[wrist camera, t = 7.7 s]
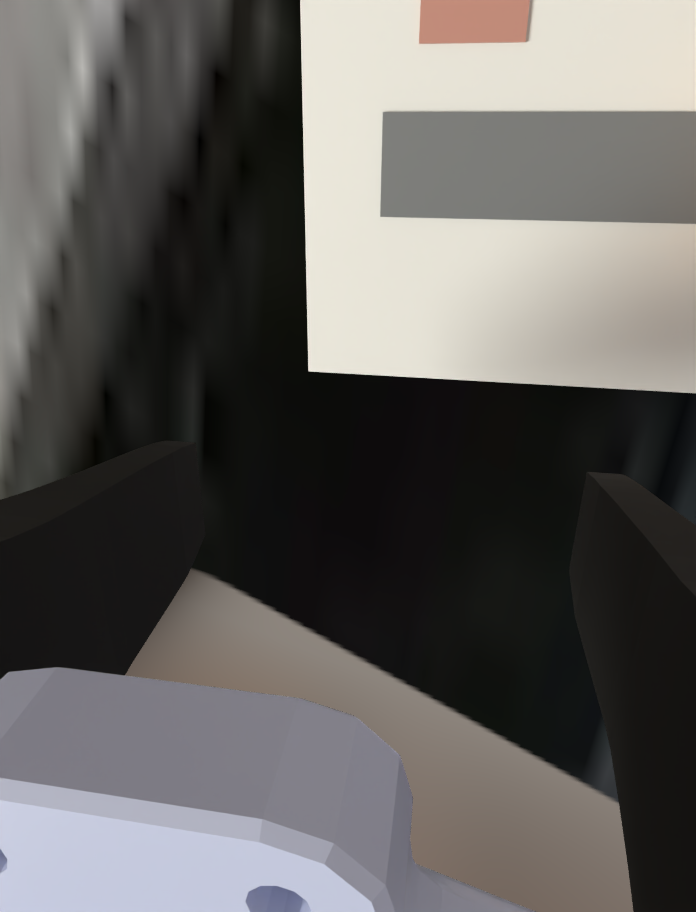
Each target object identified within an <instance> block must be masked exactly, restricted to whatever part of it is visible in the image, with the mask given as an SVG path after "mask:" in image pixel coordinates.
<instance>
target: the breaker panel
mask: <svg viewBox="0 0 696 912" xmlns="http://www.w3.org/2000/svg"><path fill="white" fill-rule="evenodd" d="M300 9H301V54H302V99H303V143H304V188H305V233H306V278H307V323H308V368H309V371H313V372H331V373H348V374H366V375H384V376H401V377H419V378H437V379H454V380H472V381H489V382H507V383H525V384H542V385H560V386H578V387H595V388H613V389H631V390H648V391H666V392H683V393H696V0H300Z"/></svg>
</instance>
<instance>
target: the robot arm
mask: <svg viewBox="0 0 696 912" xmlns="http://www.w3.org/2000/svg"><path fill="white" fill-rule="evenodd" d="M204 536H205V527H204V518H203V508H202V499H201V489H200V479H199V470H198V460H197V451H196V443H191V442H177V441H162V442H157V443H154V444H150V445H147V446H145V447H142V448H139V449H136V450H134V451H131V452H128V453H126V454H123V455H121V456H118V457H116V458H113V459H111V460H108V461H106V462H104V463H101V464H99V465H96V466H94V467H91V468H89V469H86V470H84V471H81V472H79V473H76V474H73V475H71V476H68V477H65V478H63V479H60V480H57V481H54V482H52V483H49V484H46V485H43V486H41V487H38V488H35V489H33V490H30V491H27V492H24V493H21V494H18V495H15V496H11V497H8V498H5V499H2V500H0V912H535V911H533V910H530V909H528V908H525V907H523V906H520V905H518V904H515V903H513V902H510V901H508V900H505V899H503V898H500V897H498V896H495V895H493V894H490V893H488V892H485V891H483V890H480V889H478V888H475V887H473V886H470V885H468V884H465V883H463V882H460V881H458V880H455V879H453V878H450V877H448V876H445V875H443V874H440V873H438V872H435V871H433V870H430V869H428V868H425V867H423V866H420V865H418V864H415V862H414V860H413V858H412V851H411V844H410V832H411V818H412V804H413V796H412V793H411V789H410V786H409V783H408V780H407V776H406V773H405V770H404V767H403V763H402V760H401V757H400V755H399V754H398V753H397V752H396V751H395V750H394V749H392V748H391V747H390V746H389V745H388V744H387V743H386V742H384V741H383V740H382V739H381V738H380V737H379V736H378V735H376V734H375V733H374V732H373V731H372V730H370V728H369V727H367V726H366V725H365V724H364V723H363V722H362V721H361V720H359V719H358V718H357V717H355V716H353V715H350V714H347V713H344V712H341V711H338V710H335V709H332V708H329V707H326V706H323V705H320V704H317V703H314V702H311V701H308V700H305V699H302V698H295V697H287V696H279V695H271V694H264V693H255V692H248V691H241V690H233V689H225V688H217V687H210V686H201V685H194V684H187V683H178V682H170V681H163V680H155V679H147V678H140V677H132V676H125V674H126V672H127V671H128V669H129V667H130V666H131V664H132V662H133V660H134V659H135V657H136V656H137V654H138V653H139V651H140V650H141V648H142V647H143V645H144V643H145V642H146V640H147V639H148V637H149V635H150V634H151V633H152V631H153V629H154V628H155V626H156V625H157V623H158V622H159V620H160V619H161V617H162V615H163V614H164V612H165V611H166V609H167V608H168V606H169V604H170V603H171V601H172V600H173V598H174V596H175V595H176V593H177V592H178V590H179V588H180V587H181V585H182V584H183V582H184V580H185V579H186V577H187V575H188V573H189V571H190V569H191V567H192V564H193V562H194V560H195V558H196V556H197V553H198V551H199V548H200V546H201V543H202V541H203V539H204ZM569 570H570V579H571V588H572V597H573V604H574V612H575V618H576V621H577V625H578V629H579V633H580V637H581V640H582V644H583V648H584V651H585V655H586V658H587V662H588V666H589V669H590V673H591V676H592V680H593V683H594V687H595V691H596V694H597V698H598V701H599V705H600V708H601V712H602V716H603V719H604V723H605V727H606V731H607V736H608V740H609V745H610V749H611V755H612V762H613V768H614V774H615V780H616V787H617V793H618V799H619V805H620V813H621V820H622V826H623V834H624V841H625V848H626V855H627V862H628V870H629V878H630V886H631V894H632V902H633V911H634V912H696V525H694V524H693V523H692V522H690V521H689V520H687V519H686V518H685V517H683V516H682V515H680V514H679V513H678V512H676V511H675V510H674V509H672V508H671V507H669V506H668V505H667V504H665V503H664V502H663V501H661V500H660V499H659V498H657V497H656V496H655V495H653V494H652V493H650V492H649V491H648V490H646V489H645V488H644V487H642V486H641V485H639V484H638V483H636V482H635V481H633V480H632V479H630V478H629V477H627V476H625V475H621V474H607V473H594V472H587V474H586V480H585V485H584V491H583V496H582V502H581V507H580V513H579V519H578V524H577V530H576V535H575V541H574V546H573V552H572V557H571V563H570V568H569Z"/></svg>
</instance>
